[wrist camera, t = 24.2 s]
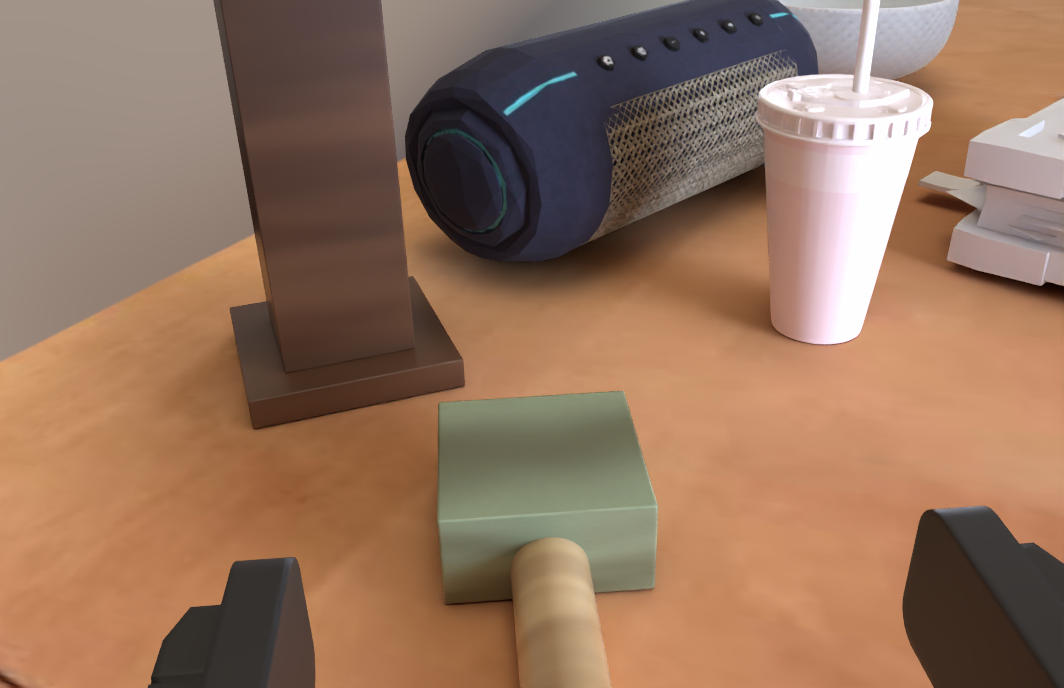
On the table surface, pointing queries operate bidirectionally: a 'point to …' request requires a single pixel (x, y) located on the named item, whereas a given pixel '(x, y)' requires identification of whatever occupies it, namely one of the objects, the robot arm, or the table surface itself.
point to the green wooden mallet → (545, 521)
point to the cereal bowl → (901, 33)
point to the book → (1012, 199)
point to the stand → (325, 215)
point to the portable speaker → (598, 124)
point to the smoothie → (834, 188)
